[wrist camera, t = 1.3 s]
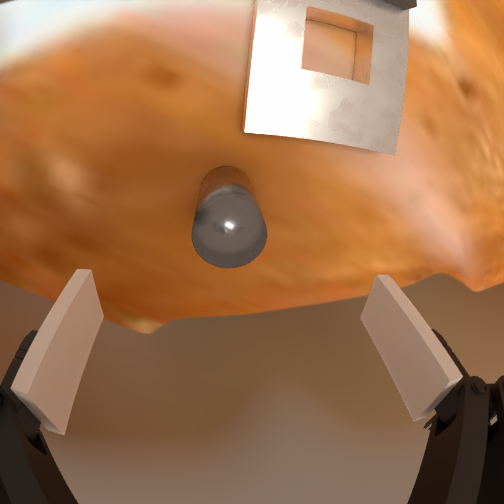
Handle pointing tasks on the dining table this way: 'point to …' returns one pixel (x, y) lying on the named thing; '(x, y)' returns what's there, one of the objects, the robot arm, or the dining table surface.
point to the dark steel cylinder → (228, 220)
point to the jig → (324, 85)
